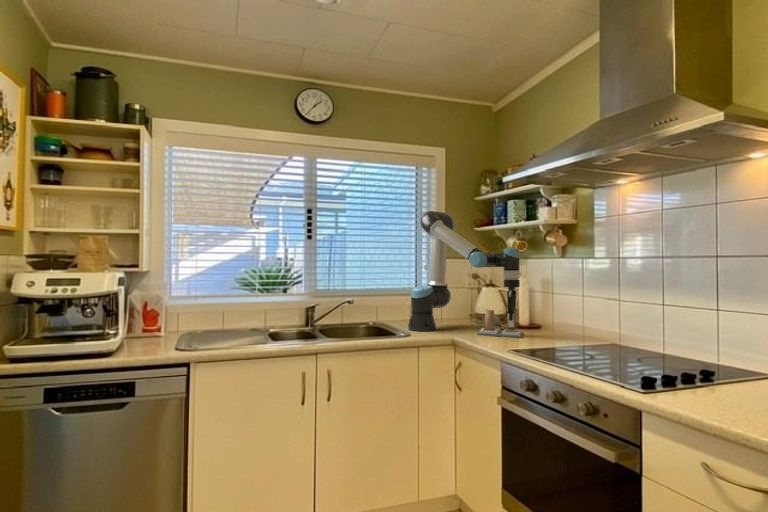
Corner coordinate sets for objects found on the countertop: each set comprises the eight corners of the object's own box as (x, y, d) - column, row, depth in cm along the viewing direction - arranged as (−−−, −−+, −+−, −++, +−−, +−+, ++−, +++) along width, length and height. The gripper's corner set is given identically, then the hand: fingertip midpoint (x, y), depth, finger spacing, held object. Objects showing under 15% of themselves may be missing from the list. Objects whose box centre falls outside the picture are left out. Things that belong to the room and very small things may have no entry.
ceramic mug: (480, 329, 240) (480, 314, 240) (487, 327, 246) (487, 313, 246) (498, 331, 233) (499, 316, 233) (505, 329, 239) (505, 315, 239)
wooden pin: (506, 329, 217) (506, 307, 218) (508, 328, 221) (507, 306, 222) (515, 330, 216) (515, 307, 216) (517, 328, 220) (517, 306, 220)
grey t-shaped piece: (477, 335, 220) (477, 311, 220) (482, 331, 230) (482, 308, 231) (520, 338, 211) (520, 313, 211) (523, 334, 222) (523, 310, 222)
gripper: (517, 279, 209) (517, 329, 209) (521, 278, 225) (521, 324, 225) (501, 279, 212) (501, 328, 212) (506, 278, 228) (506, 323, 228)
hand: (511, 326), depth 219 cm, fingers closed on wooden pin, 4 cm apart
